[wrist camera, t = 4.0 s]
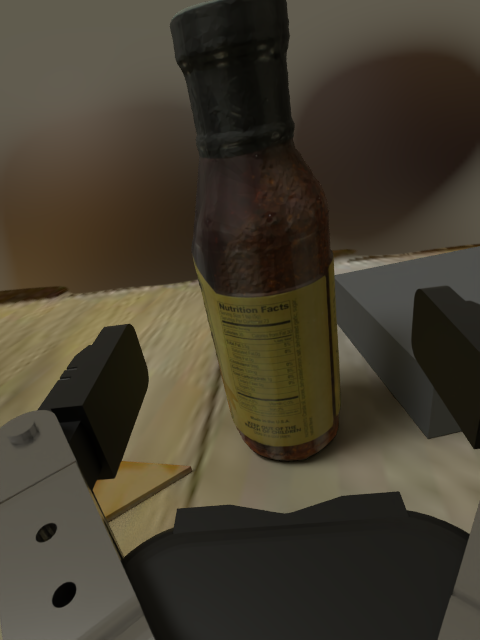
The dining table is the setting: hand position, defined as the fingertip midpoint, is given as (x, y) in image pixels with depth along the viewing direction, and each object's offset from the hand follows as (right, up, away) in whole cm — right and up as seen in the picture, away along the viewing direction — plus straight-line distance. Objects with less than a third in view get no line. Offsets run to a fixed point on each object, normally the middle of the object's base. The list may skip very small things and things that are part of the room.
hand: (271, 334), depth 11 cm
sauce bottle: (+2, -6, +12) cm, 13 cm away
